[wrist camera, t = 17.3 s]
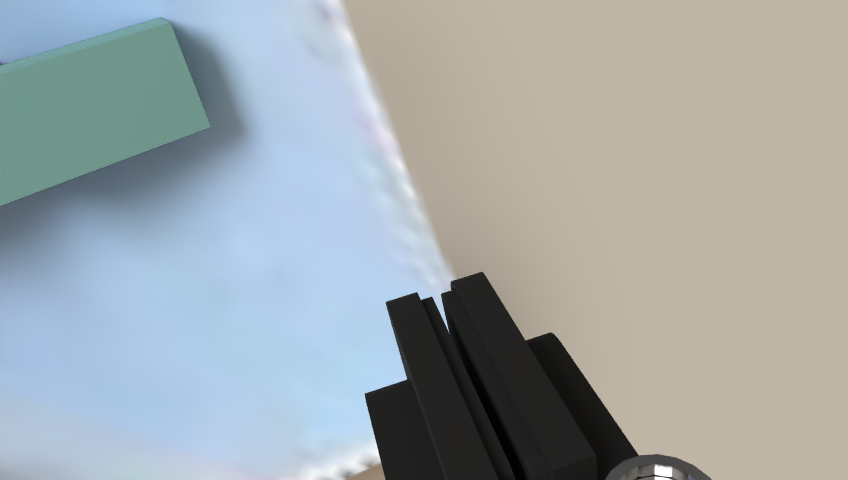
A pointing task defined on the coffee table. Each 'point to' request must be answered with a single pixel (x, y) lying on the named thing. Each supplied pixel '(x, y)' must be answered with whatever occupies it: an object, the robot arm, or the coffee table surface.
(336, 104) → the coffee table surface
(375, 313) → the coffee table surface
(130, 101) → the tile
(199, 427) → the coffee table surface
